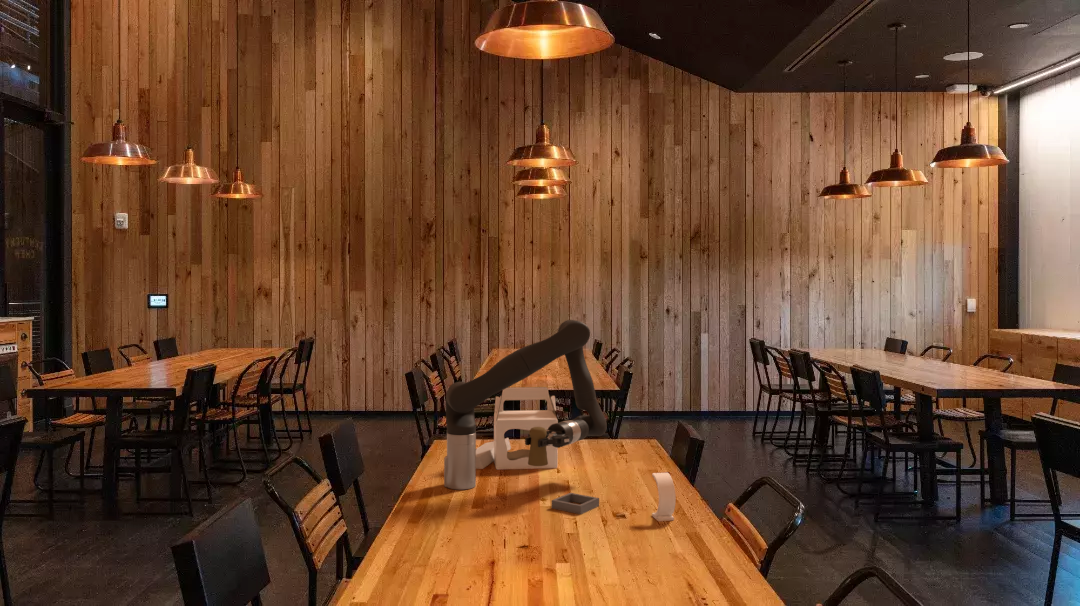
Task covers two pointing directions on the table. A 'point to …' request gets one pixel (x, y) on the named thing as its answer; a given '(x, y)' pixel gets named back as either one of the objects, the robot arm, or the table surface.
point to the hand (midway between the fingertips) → (532, 442)
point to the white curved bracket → (665, 497)
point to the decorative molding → (487, 454)
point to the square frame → (585, 506)
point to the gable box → (522, 427)
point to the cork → (537, 453)
